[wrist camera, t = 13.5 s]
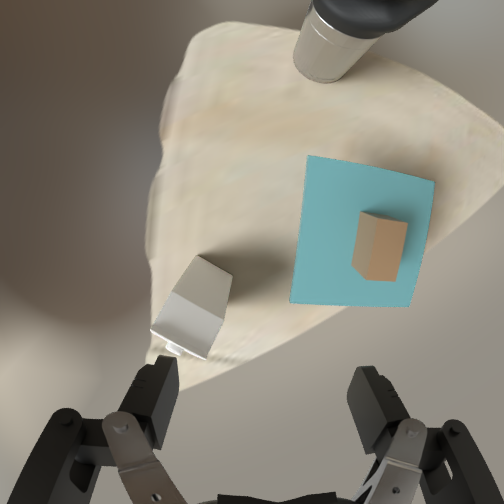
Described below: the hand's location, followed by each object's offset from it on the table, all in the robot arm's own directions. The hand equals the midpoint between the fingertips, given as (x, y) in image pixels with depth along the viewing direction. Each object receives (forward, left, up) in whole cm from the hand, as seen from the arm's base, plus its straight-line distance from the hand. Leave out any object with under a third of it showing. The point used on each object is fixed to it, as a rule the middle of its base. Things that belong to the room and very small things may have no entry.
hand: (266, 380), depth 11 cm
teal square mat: (-3, +12, -19) cm, 23 cm away
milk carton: (+10, -8, -34) cm, 37 cm away
